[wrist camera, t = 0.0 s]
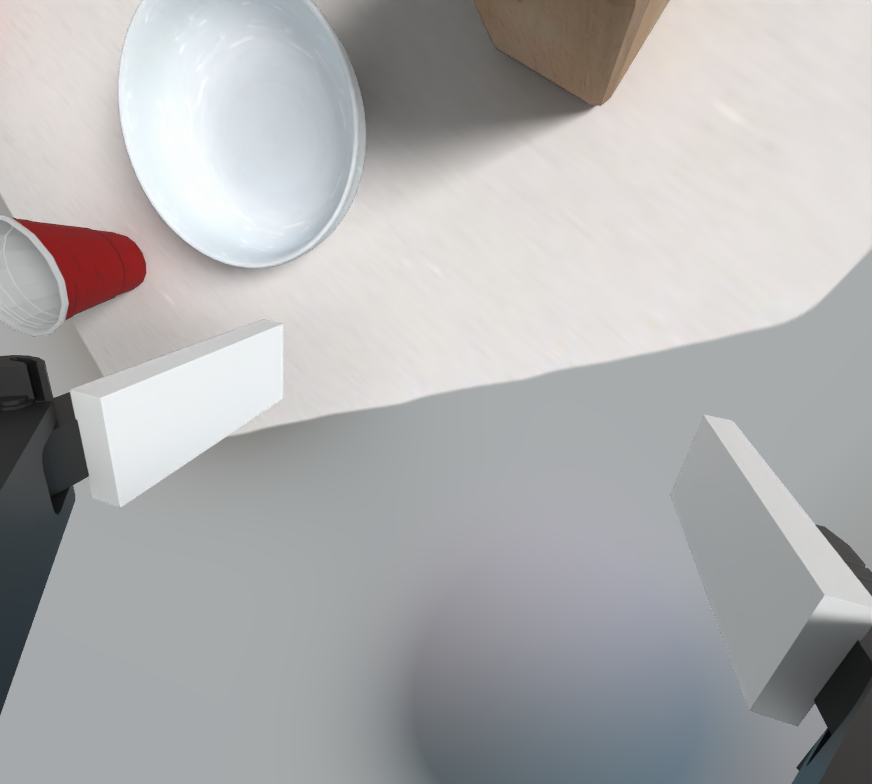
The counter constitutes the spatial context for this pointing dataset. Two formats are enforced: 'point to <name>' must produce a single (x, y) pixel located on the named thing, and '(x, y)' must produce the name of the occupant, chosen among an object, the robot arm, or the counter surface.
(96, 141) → the counter surface
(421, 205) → the counter surface
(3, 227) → the plastic cup
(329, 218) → the serving bowl
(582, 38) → the wooden block
